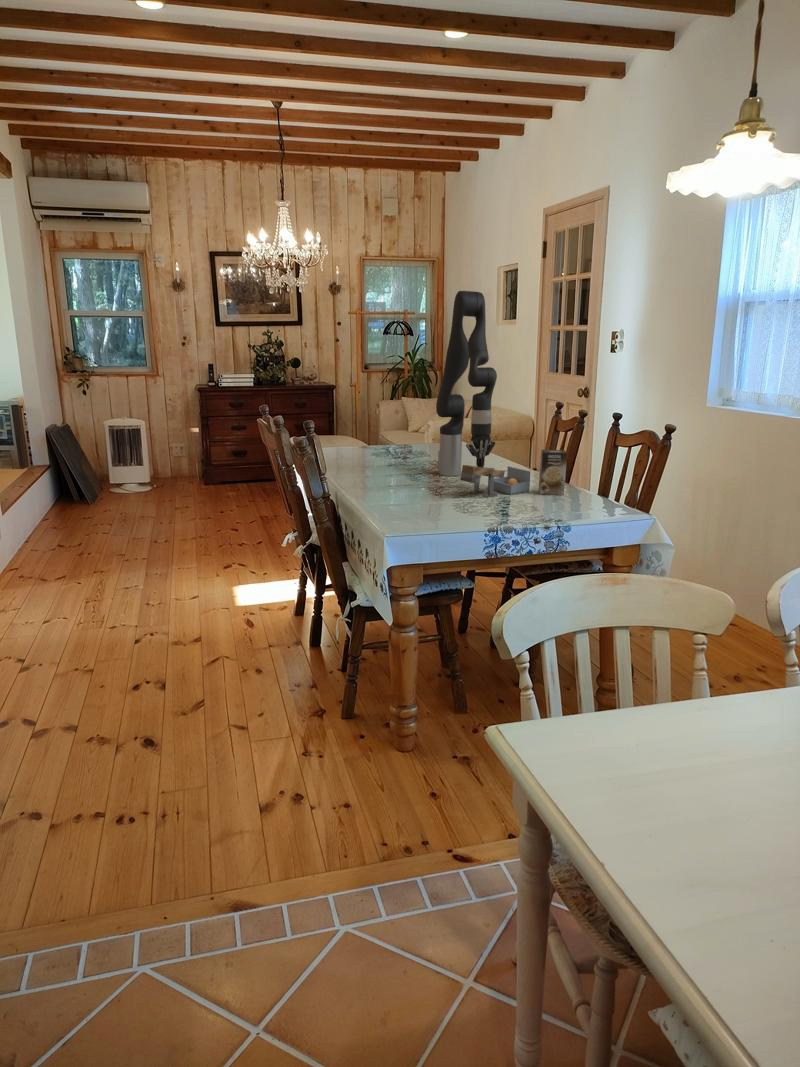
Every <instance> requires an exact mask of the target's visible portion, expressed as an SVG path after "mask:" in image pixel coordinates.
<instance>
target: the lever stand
mask: <svg viewBox="0 0 800 1067" xmlns="http://www.w3.org/2000/svg"><path fill="white" fill-rule="evenodd" d="M494 476H495V475H494V474H493V473H489V474H488V476H487V477H488V480H487V481H488V482H487V493H486V494H483V498H485V497H487V498H486V499H489V498H488V497H490V498H496V497H498V493H494V490H493V487H494V478H495V477H494ZM479 492H482V493H484V489H481V488H480V484H477V483H473V490H469V494H472V493H475V494H480V493H479ZM495 496H496V497H495Z"/></svg>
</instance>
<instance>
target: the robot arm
mask: <svg viewBox="0 0 800 1067" xmlns="http://www.w3.org/2000/svg"><path fill="white" fill-rule="evenodd" d="M452 309H453V311H452V320H451V328H450V335H449V340H448V345H447V350H446V356H445V363H444V370H443V375H442V379H441V383H440V388H439V391H438V395H437V398H436V402H435V403H436V404H435V410H436V414H437V415H438V417H440V418H450V419H449V421H448V422H446V423H445V424H443V425H441V426H440V428H439V450H438V454H437V455H438V456H437V459H438V460H437V473H438V475H440V476H447V477H456V476H457V477H458V476H461V473H462V455H463V454H462V452H463V451H462V450H463V449H462V447H463V440H462V439H463V428H464V422H465V421H464V419H465V409H466V408H465V406H466V404H465V403H466V402H465V400H464V397H463V396H462V395H461V394H460V393H459V394H456V393H454V394H453V392H452V391H453V389H454V387H455V385H456V383H458V381H459V379H460V378H461V377H462V376H463V375H464V373H465V372H466V370H467V368H468V367H469V368H468V375H467V381H468V384H469V385H470V386H471V387H472V388H473V387H474V388H484V389H483V390H482V391H481V392H477V393H474V394H473V395H472V399H471V400H472V405H471V407H472V408H471V416H470V418H471V420H470V434H471V438H470V442H469V443H466V445H465V446H466V449H467V450H468V451H469V453H470V454H471V456H472V457H476V460H475V461H476V463H475V464H476V465H475V466H477V467H485V458H486V456H487V457H488V456H489V455H490V454H491V452H492V450H493V448H494V447H495V445H496V442H495V441H493V440H492V439H491V434H492V398H493V393H494V389H495V386H496V382H497V380H498V379H497V378H498V374H497V371H496V370H495V368H493V367H490V366H488V367H481V366H484V365H486V364H487V363H488V362H489V360H490V356H489V350H488V344H487V338H486V336H487V334H486V326H487V325H486V322H487V321H486V300H485V296H484V294H483V292H480V291H474V290H473V291H472V290H459V291H457V293H456V294H455V297H454V302H453V308H452ZM464 317H473V318H475V326H474V328H473V330H472V332H471V334H470V335H469V337H468V338H467V336H466V334H465V331H464V327H463V325H464V324H463V322H464V321H463V320H464Z"/></svg>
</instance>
